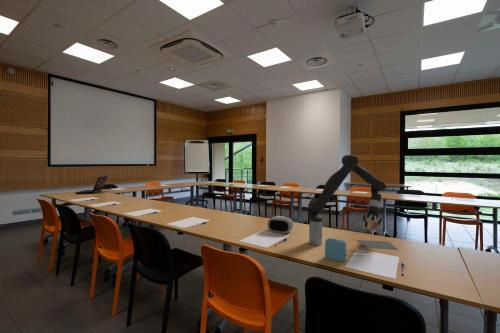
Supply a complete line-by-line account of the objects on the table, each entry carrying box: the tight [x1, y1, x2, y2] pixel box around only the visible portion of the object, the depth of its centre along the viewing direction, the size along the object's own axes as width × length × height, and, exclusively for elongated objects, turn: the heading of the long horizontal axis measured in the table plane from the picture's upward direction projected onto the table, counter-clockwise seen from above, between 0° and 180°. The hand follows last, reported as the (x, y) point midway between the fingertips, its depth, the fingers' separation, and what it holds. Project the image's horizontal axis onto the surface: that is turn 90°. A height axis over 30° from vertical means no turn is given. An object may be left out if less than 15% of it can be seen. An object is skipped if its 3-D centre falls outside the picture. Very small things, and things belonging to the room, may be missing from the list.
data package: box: [324, 237, 347, 263], centre depth 157 cm, size 12×4×12 cm, turn 53°
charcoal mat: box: [356, 239, 399, 251], centre depth 183 cm, size 24×18×1 cm
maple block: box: [362, 220, 379, 231], centre depth 184 cm, size 5×5×14 cm
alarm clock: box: [266, 215, 294, 235], centre depth 215 cm, size 21×10×13 cm, turn 67°
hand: (369, 228), depth 183 cm, fingers closed on maple block, 5 cm apart
